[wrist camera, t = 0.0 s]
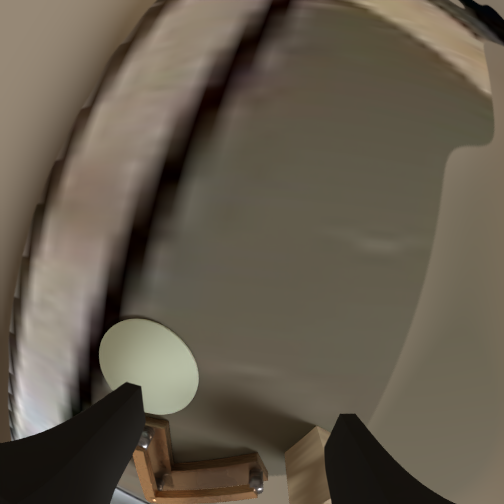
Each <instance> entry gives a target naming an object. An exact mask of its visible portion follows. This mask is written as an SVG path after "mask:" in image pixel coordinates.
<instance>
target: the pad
mask: <svg viewBox="0 0 504 504" xmlns="http://www.w3.org/2000/svg"><path fill="white" fill-rule="evenodd" d="M99 361H100V366H101V370H102V373H103V375H104V377H105V379H106V381H107V383H108V385H109V386H110V387H111V389H112V390H113V391H114V390H115V389H117V388H118V387H119V386H121V385H122V384H124V383H125V382H129V383H132V384H136V385H139V386H141V388H142V397H143V405H144V412H147V413H151V414H160V415H163V414H171V413H174V412H177V411H179V410H181V409H183V408H184V407H186V406H187V405H188V404H189V403H190V402H191V401H192V399H193V397H194V396H195V393H196V391H197V388H198V383H199V373H198V367H197V364H196V361H195V358H194V356H193V354H192V352H191V351H190V349H189V348H188V346H187V345H186V344H185V343H184V341H183V340H182V339H181V338H180V337H179V336H178V335H177V334H175V333H174V332H173V331H172V330H170V329H169V328H167V327H165V326H164V325H161V324H159V323H157V322H154V321H151V320H147V319H139V318H135V319H127V320H124V321H121V322H119V323H117V324H116V325H114V326H112V327H111V328H110V329H109V330H108V331H107V332H106V334H105V335H104V337H103V339H102V341H101V344H100V349H99Z"/></svg>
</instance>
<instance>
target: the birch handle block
mask: <svg viewBox="0 0 504 504" xmlns="http://www.w3.org/2000/svg"><path fill="white" fill-rule="evenodd" d="M330 434H331V433H330V432H328V431H326V430H324V429H322V428H320V427H318V426H316V427H315V428H313V429H312V430H311V431H310V432H309V433H308V434H307V435H305V436H304V437H303V438H302V439H301V440H300V441H298V442H297V443H296V444H295V445H294V446H292V447H291V448H290V449H289V450H287V451H286V452H285V463H286V473H287V483H288V493H289V503H290V504H332V503H331V498H330V492H329V487H328V482H327V477H326V471H325V458H324V446H325V444H326V442H327V440H328V438H329V436H330Z"/></svg>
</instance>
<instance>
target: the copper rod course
mask: <svg viewBox="0 0 504 504" xmlns="http://www.w3.org/2000/svg"><path fill="white" fill-rule="evenodd" d="M145 420H146V423H145V426H144V429H143V432H142V435H141V437H140V440H139V443H138V445H137V447H136V449H135V451H134V453H133V458H134V462H135V466H136V469H137V473H138V476H139V480H140V483H141V486H142V489H143V492H144V495H145V499H146V500H147V501H148V502H150V503H160V504H198V503H216V502H227V501H237V500H244V499H252V498H257V496H258V494H260V493H262V492H263V481H267V480H268V471H267V469H266V467H265V466H264V464H263V462H262V460H261V458H260V456H259V454H258V452H256V453H251V454H245V455H240V456H234V457H228V458H221V459H214V460H206V461H197V462H186V463H174V459H173V452H172V444H171V437H170V428H169V421H166V420H161V419H156V418H151V417H146V416H145ZM244 484H246V485H244ZM237 485H239V486H237ZM229 486H231V487H229ZM220 487H222V488H220ZM209 488H212V489H209ZM194 489H199V490H194ZM166 490H167V491H166Z"/></svg>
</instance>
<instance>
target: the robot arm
mask: <svg viewBox="0 0 504 504" xmlns="http://www.w3.org/2000/svg"><path fill="white" fill-rule="evenodd" d="M145 423H146V420H145V413H144V405H143V397H142V388H141V386H139V385H136V384H132V383H129V382H125V383H124V384H122V385H121V386H119V387H118V388H117V389H115V390H114V391H112V392H111V393H110V394H108V395H107V396H105V397H104V398H103V399H101V400H100V401H98V402H97V403H95V404H94V405H92V406H91V407H89V408H88V409H86V410H84V411H83V412H81V413H80V414H78V415H76V416H74V417H73V418H71V419H69V420H67V421H65V422H63V423H62V424H59V425H57V426H55V427H53V428H51V429H49V430H46V431H44V432H41V433H38V434H35V435H32V436H29V437H26V438H22V439H19V440H15V441H10V442H5V443H0V504H110V501H111V499H112V496H113V493H114V490H115V488H116V486H117V484H118V482H119V480H120V478H121V476H122V474H123V472H124V470H125V468H126V466H127V464H128V463H129V461H130V459H131V457H132V455H133V453H134V451H135V449H136V447H137V445H138V443H139V440H140V437H141V435H142V432H143V429H144V426H145ZM324 458H325V471H326V477H327V482H328V487H329V492H330V498H331V503H332V504H455V503H453V502H451V501H449V500H447V499H445V498H443V497H441V496H440V495H438V494H437V493H435V492H433V491H432V490H430V489H429V488H427V487H426V486H424V485H423V484H422V483H420V482H419V481H418V480H417V479H415V478H414V477H413V476H412V475H410V474H409V473H408V472H407V471H406V470H405V469H404V468H402V467H401V466H400V465H399V464H398V463H397V462H396V461H395V460H394V459H393V458H392V456H391V455H390V454H389V453H388V452H387V451H386V450H385V449H384V448H383V447H382V446H381V444H380V443H379V442H378V441H377V440H376V439H375V437H374V436H373V435H372V434H371V432H370V431H369V430H368V429H367V428H366V426H365V425H364V424H363V423H362V421H361V420H360V419H359V418H358V417H357V415H356V414H340V415H339V417H338V419H337V421H336V424H335V426H334V428H333V430H332V432H331V434H330V436H329V438H328V440H327V442H326V444H325V446H324Z"/></svg>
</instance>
